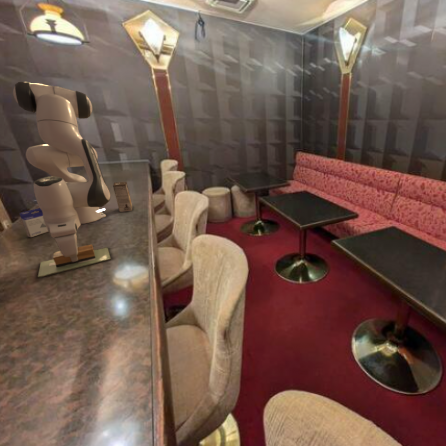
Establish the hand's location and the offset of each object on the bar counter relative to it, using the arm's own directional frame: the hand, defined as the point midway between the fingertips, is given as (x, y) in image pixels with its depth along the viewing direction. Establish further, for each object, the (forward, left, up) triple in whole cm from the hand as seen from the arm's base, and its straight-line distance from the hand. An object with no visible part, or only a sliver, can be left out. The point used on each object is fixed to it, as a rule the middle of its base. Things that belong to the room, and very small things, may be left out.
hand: (75, 257), depth 93 cm
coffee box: (-60, +24, -2) cm, 65 cm away
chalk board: (0, 0, -2) cm, 2 cm away
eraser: (0, 0, -1) cm, 1 cm away
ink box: (-42, -11, -2) cm, 43 cm away
